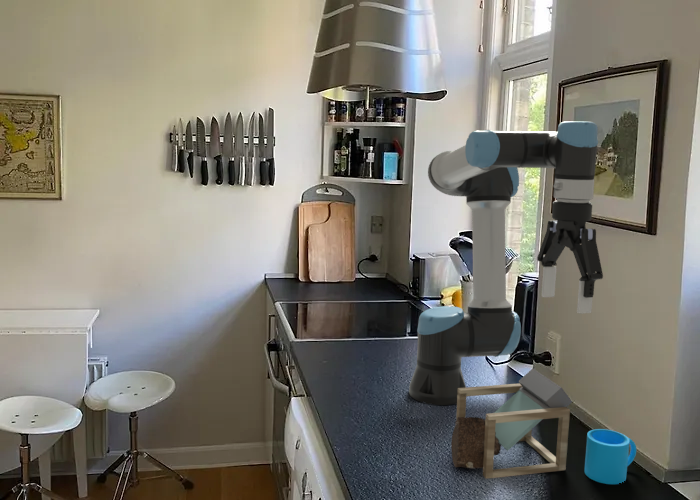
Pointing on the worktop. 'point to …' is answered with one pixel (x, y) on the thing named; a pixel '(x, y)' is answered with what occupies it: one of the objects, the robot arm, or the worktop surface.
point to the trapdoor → (529, 406)
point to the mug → (608, 456)
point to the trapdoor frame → (490, 424)
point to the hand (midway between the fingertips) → (565, 304)
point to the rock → (470, 442)
